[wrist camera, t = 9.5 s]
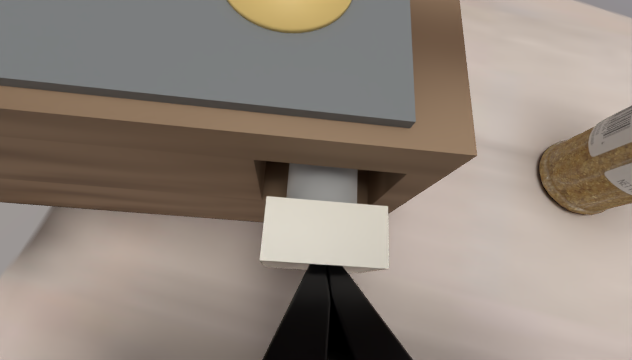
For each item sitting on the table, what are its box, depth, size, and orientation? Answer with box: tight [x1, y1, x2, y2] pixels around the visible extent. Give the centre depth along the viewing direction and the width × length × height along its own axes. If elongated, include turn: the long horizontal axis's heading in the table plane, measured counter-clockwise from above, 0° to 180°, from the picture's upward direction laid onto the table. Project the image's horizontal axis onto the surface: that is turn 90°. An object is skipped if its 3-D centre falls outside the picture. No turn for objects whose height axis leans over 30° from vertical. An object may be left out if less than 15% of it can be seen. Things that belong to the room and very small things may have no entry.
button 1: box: [260, 163, 389, 273], centre depth 11 cm, size 10×3×3 cm, turn 177°
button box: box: [0, 0, 477, 222], centre depth 12 cm, size 8×19×10 cm, turn 87°
